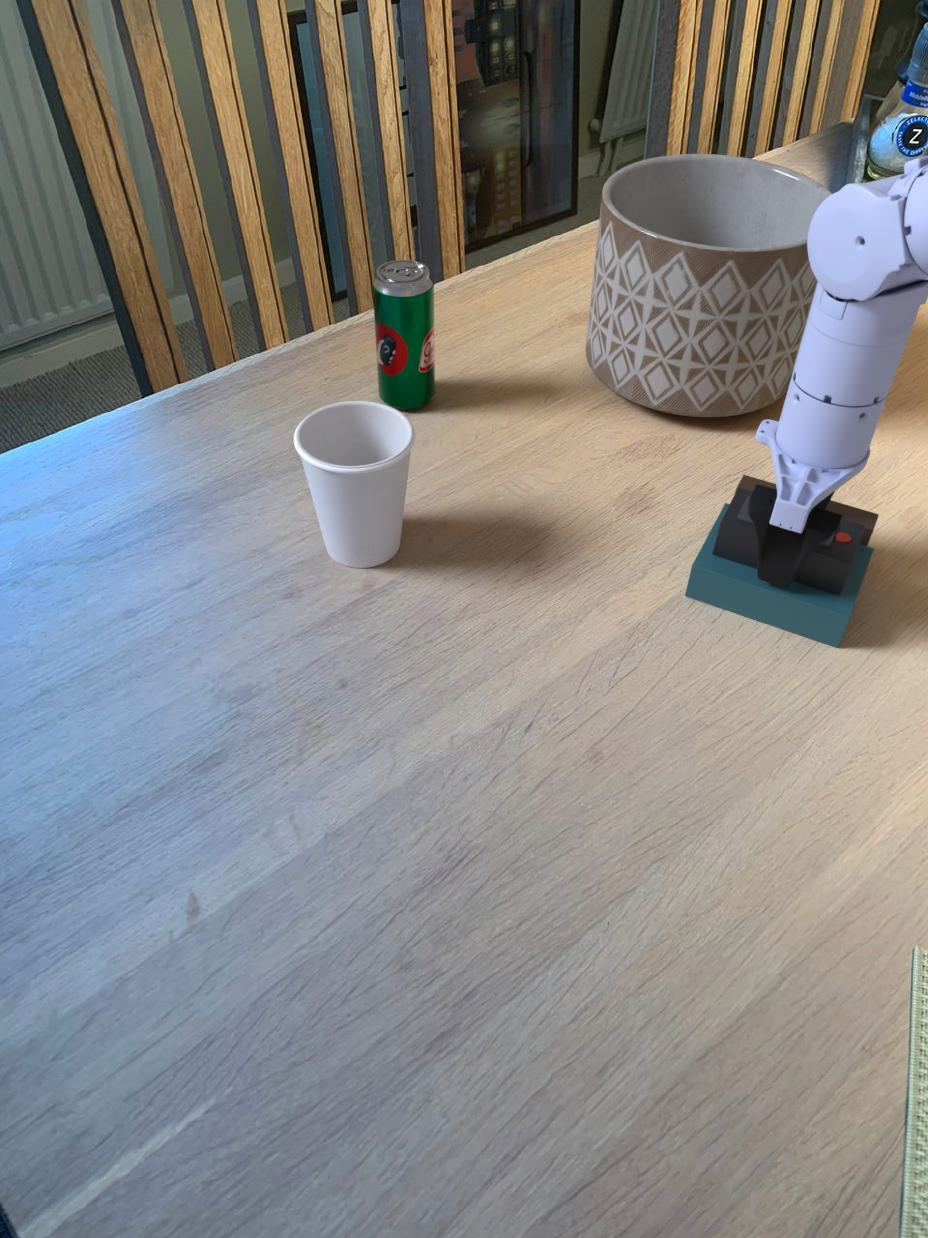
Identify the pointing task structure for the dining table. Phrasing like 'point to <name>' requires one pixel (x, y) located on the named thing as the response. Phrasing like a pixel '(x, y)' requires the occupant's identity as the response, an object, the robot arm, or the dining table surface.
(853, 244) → the robot arm
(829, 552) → the remote
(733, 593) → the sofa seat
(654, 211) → the planter
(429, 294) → the soda can
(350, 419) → the dixie cup
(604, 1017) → the dining table surface
